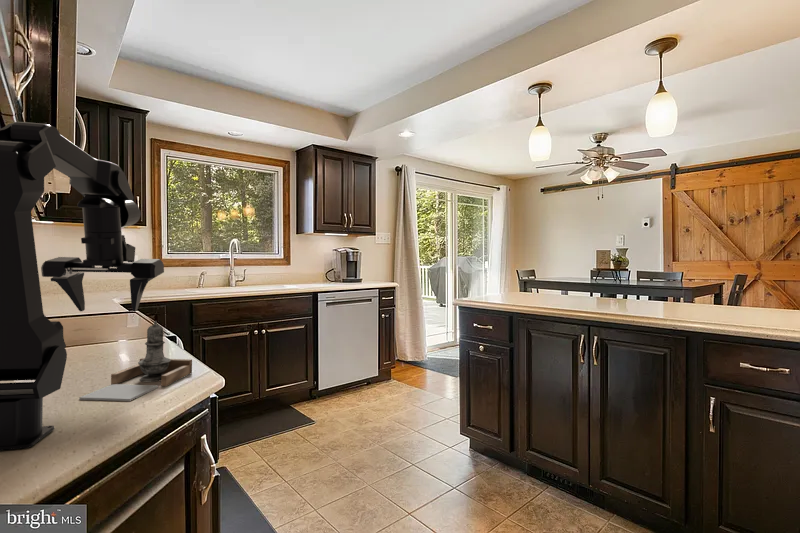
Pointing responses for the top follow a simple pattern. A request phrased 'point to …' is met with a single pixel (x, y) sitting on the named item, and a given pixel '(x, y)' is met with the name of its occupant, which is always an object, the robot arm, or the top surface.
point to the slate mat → (119, 392)
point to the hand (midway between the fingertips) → (109, 310)
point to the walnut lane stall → (171, 374)
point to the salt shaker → (154, 355)
